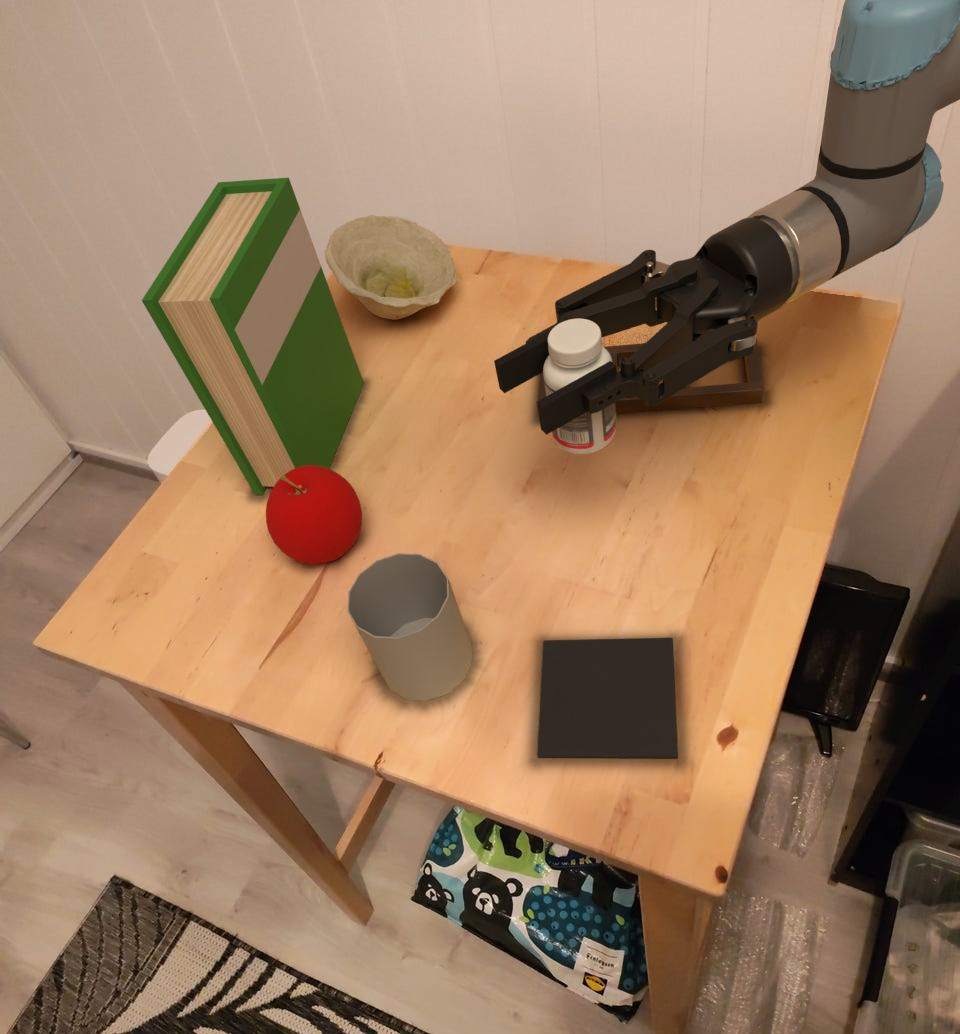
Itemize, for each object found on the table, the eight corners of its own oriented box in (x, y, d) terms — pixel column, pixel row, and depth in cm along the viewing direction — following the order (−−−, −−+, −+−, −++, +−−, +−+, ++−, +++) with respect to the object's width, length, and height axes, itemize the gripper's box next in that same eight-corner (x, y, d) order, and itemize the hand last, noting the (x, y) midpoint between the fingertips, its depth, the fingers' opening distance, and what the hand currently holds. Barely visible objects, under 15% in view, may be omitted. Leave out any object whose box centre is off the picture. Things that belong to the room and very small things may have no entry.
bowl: (438, 352, 98) (418, 275, 89) (332, 345, 102) (303, 271, 94) (477, 273, 105) (461, 195, 96) (376, 269, 109) (353, 194, 101)
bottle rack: (754, 347, 89) (756, 333, 87) (762, 403, 84) (764, 389, 83) (543, 365, 93) (541, 351, 92) (539, 419, 89) (537, 406, 87)
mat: (672, 640, 71) (672, 637, 71) (677, 759, 65) (677, 756, 65) (544, 643, 73) (543, 640, 73) (538, 758, 67) (537, 755, 67)
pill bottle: (592, 401, 72) (584, 302, 64) (629, 435, 69) (626, 335, 61) (539, 431, 71) (524, 334, 63) (575, 466, 68) (564, 369, 60)
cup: (390, 712, 72) (356, 652, 64) (372, 638, 77) (338, 572, 68) (483, 682, 72) (461, 617, 64) (459, 609, 77) (436, 540, 69)
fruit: (317, 499, 88) (282, 428, 80) (388, 521, 84) (359, 449, 76) (267, 564, 84) (225, 497, 76) (339, 590, 81) (303, 523, 72)
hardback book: (317, 497, 88) (219, 298, 68) (255, 494, 90) (141, 300, 70) (363, 383, 97) (288, 177, 77) (306, 382, 99) (218, 182, 79)
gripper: (840, 357, 65) (592, 501, 61) (689, 257, 75) (469, 376, 71) (859, 269, 59) (585, 424, 55) (691, 174, 69) (451, 299, 65)
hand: (520, 397), depth 63 cm, fingers closed on pill bottle, 5 cm apart
